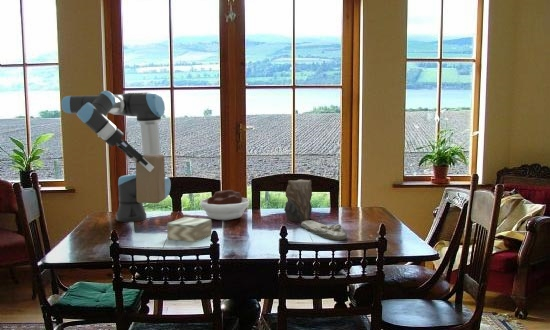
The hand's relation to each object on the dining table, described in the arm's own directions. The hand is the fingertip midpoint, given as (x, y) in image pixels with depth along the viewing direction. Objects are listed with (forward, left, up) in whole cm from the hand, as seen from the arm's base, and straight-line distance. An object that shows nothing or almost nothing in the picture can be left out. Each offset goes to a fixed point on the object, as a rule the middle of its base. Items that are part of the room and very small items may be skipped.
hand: (148, 168), depth 235 cm
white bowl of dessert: (+9, +50, -32) cm, 60 cm away
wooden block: (+1, +1, -15) cm, 15 cm away
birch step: (+13, +10, -31) cm, 36 cm away
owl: (+46, +61, -32) cm, 83 cm away
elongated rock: (+66, +39, -32) cm, 83 cm away
